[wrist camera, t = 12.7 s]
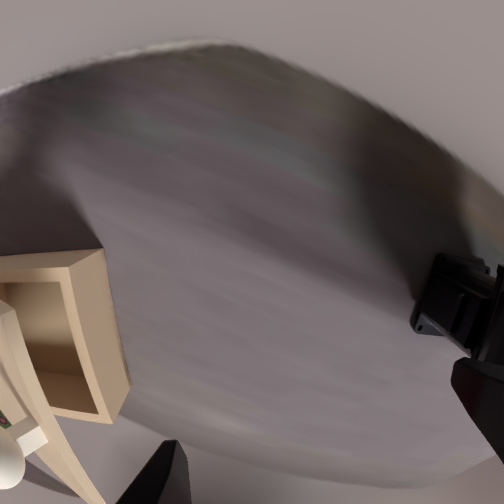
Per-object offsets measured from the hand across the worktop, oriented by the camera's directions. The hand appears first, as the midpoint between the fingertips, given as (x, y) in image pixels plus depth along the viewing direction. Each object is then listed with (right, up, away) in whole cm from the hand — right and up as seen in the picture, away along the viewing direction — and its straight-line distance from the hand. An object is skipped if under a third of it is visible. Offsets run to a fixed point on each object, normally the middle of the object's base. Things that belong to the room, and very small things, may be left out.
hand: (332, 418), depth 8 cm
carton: (-18, -1, +13) cm, 22 cm away
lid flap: (-16, -2, +5) cm, 17 cm away
